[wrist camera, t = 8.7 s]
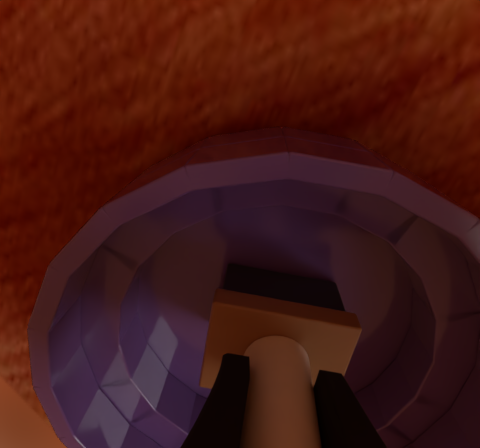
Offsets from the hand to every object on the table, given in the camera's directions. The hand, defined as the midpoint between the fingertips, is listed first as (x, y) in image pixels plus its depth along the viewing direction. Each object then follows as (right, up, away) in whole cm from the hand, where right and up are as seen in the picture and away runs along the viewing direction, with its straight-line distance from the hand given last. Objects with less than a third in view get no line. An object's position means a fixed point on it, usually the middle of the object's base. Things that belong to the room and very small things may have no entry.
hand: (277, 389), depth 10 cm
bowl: (0, +1, +4) cm, 5 cm away
